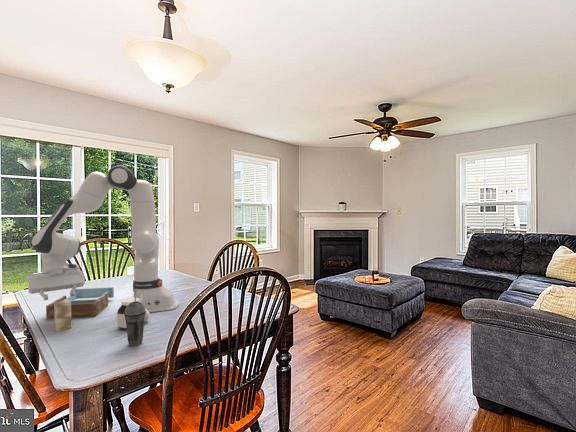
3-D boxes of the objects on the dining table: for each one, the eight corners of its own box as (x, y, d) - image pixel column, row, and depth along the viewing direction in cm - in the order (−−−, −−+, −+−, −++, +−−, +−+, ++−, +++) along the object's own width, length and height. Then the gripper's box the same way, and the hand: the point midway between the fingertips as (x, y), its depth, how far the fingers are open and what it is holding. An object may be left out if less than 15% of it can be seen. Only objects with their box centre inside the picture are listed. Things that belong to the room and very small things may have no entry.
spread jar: (115, 332, 129) (115, 303, 129) (121, 322, 140) (121, 295, 139) (147, 328, 132) (147, 301, 132) (151, 319, 143) (150, 293, 143)
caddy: (63, 307, 159) (63, 295, 159) (107, 305, 164) (107, 293, 164) (46, 319, 143) (46, 306, 143) (95, 316, 147) (95, 303, 147)
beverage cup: (122, 349, 113) (121, 293, 113) (126, 341, 120) (126, 288, 120) (144, 347, 115) (144, 291, 115) (147, 338, 122) (147, 287, 122)
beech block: (69, 325, 136) (68, 299, 136) (71, 328, 133) (71, 302, 132) (54, 328, 133) (54, 301, 132) (56, 331, 129) (56, 304, 129)
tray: (73, 298, 170) (73, 288, 170) (114, 296, 175) (114, 286, 175) (56, 309, 152) (56, 297, 152) (103, 306, 157) (102, 295, 156)
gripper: (26, 270, 135) (29, 297, 128) (82, 264, 149) (87, 289, 142) (25, 278, 139) (28, 306, 132) (80, 272, 153) (85, 296, 146)
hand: (59, 297), depth 137 cm, fingers open, 8 cm apart
